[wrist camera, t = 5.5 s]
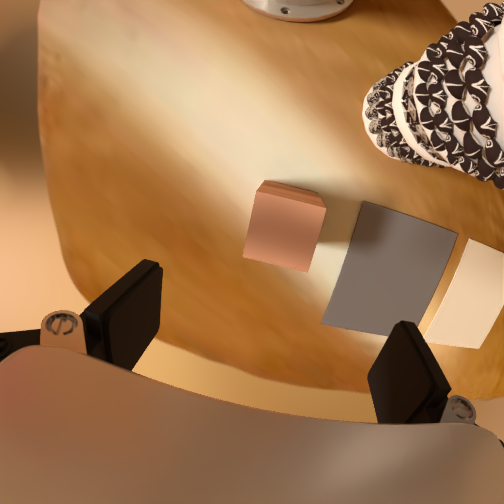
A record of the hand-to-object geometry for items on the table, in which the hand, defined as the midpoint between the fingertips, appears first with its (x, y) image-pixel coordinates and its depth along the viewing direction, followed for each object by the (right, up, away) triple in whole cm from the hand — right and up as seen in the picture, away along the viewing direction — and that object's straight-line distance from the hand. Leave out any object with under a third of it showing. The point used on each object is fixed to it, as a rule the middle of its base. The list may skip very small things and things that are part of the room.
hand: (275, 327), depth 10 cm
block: (+2, +7, +16) cm, 18 cm away
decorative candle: (+13, +15, +12) cm, 24 cm away
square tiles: (+21, -2, +17) cm, 27 cm away
